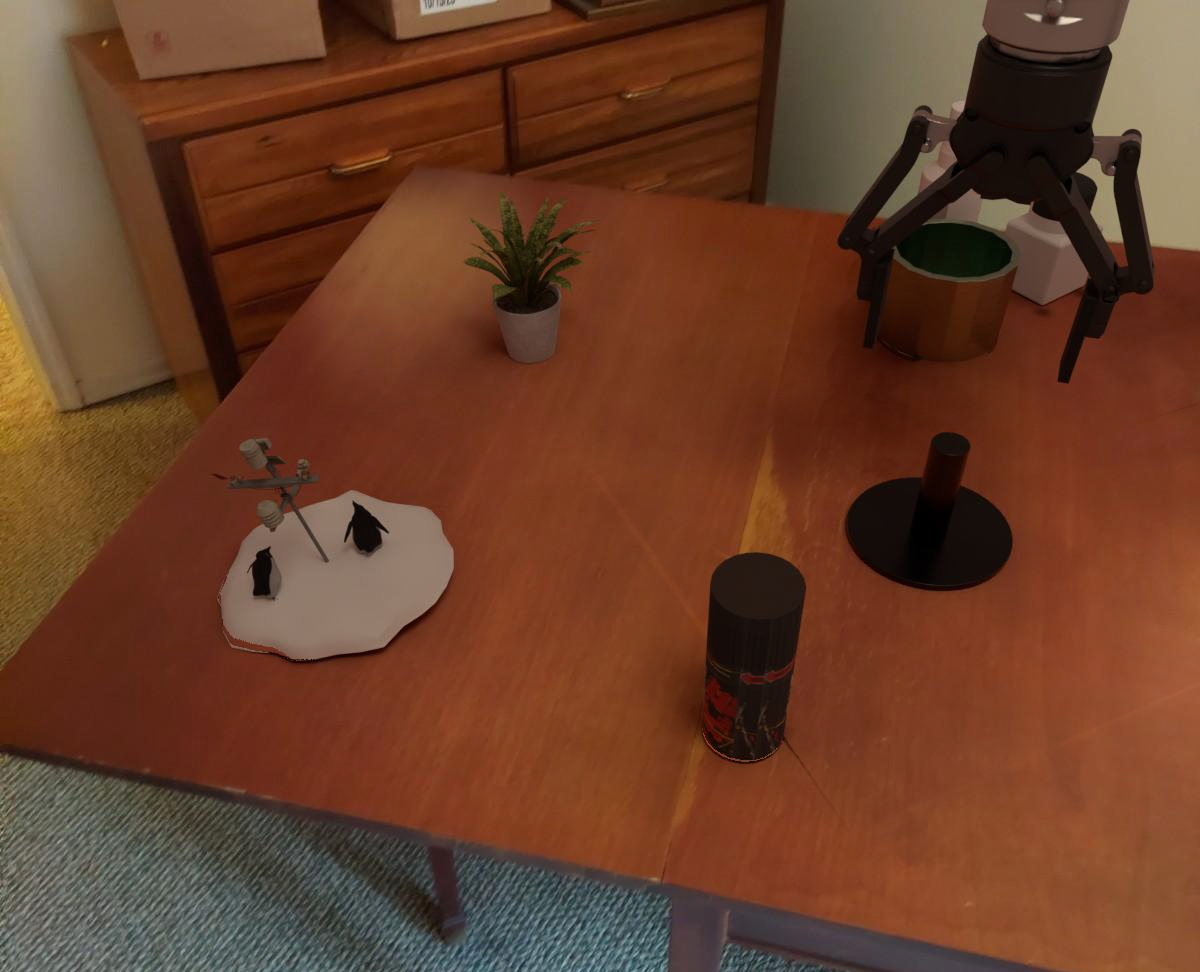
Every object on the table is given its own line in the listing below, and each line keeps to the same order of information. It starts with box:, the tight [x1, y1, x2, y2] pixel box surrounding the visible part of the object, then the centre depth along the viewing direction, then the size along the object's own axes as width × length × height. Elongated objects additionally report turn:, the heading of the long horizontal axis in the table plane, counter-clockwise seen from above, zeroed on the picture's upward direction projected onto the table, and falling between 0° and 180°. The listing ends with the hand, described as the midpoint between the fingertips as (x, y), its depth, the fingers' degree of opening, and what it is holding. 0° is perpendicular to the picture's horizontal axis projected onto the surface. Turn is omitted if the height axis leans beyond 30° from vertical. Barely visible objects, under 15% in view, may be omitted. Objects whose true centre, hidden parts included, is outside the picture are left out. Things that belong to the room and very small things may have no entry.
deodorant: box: [701, 551, 807, 765], centre depth 72 cm, size 6×6×15 cm
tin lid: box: [845, 431, 1014, 592], centre depth 87 cm, size 14×14×10 cm
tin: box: [877, 219, 1021, 363], centre depth 109 cm, size 13×13×10 cm
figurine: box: [211, 437, 455, 661], centre depth 83 cm, size 20×18×16 cm
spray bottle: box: [917, 99, 984, 223], centre depth 115 cm, size 7×7×18 cm
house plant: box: [461, 190, 598, 364], centre depth 106 cm, size 14×14×16 cm
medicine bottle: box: [1004, 171, 1104, 306], centre depth 114 cm, size 7×7×12 cm
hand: (965, 355), depth 77 cm, fingers open, 13 cm apart
